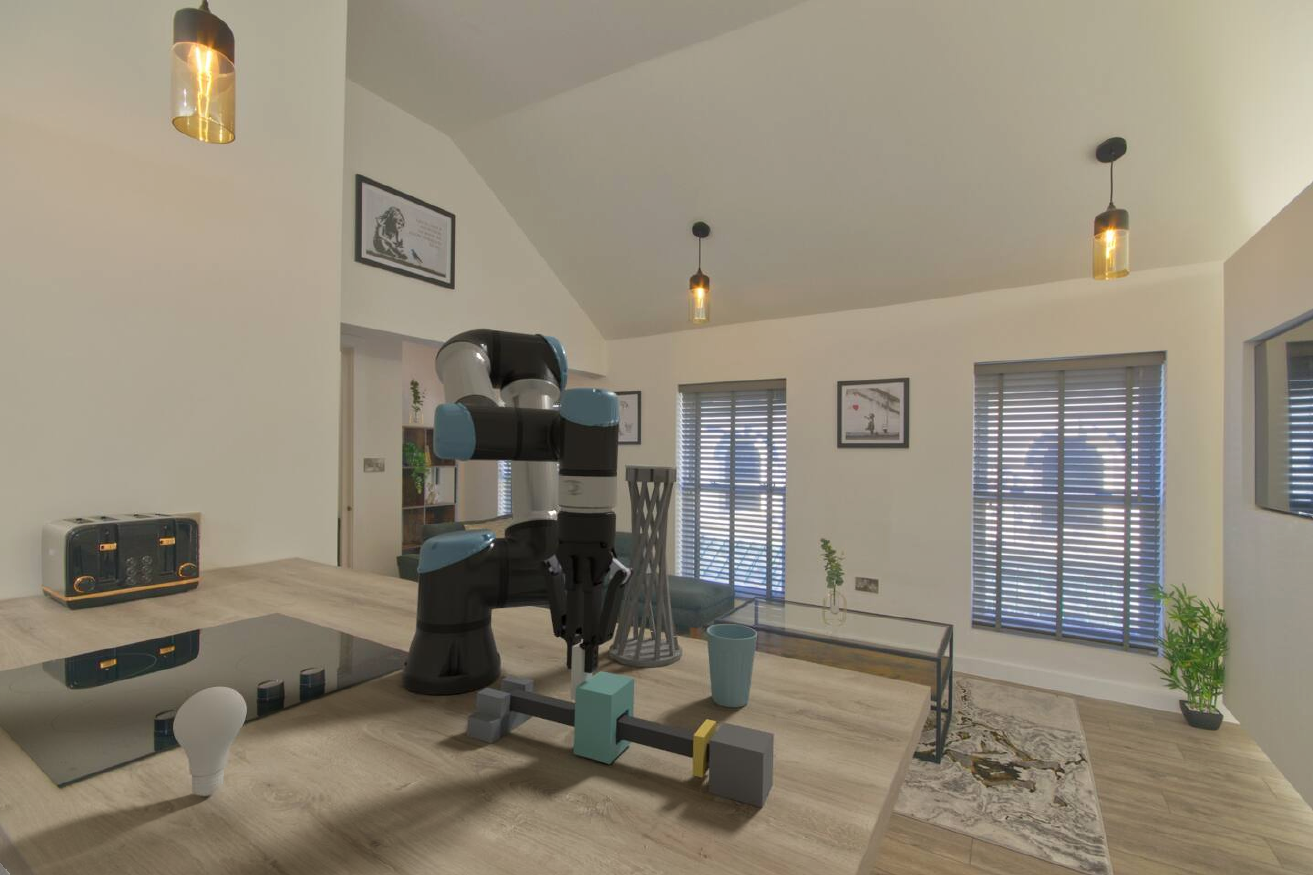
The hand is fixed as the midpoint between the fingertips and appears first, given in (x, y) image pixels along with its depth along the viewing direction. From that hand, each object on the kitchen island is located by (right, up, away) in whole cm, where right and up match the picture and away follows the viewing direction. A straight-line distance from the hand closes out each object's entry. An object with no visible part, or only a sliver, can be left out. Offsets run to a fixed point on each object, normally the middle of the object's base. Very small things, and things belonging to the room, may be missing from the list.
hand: (581, 696), depth 72 cm
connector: (+19, -7, -8) cm, 22 cm away
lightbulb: (-38, -5, -12) cm, 40 cm away
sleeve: (+3, -6, -1) cm, 7 cm away
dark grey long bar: (+5, -5, -2) cm, 8 cm away
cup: (+21, -8, +15) cm, 27 cm away
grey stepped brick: (-11, -6, +5) cm, 14 cm away
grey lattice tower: (+7, -8, +34) cm, 36 cm away
